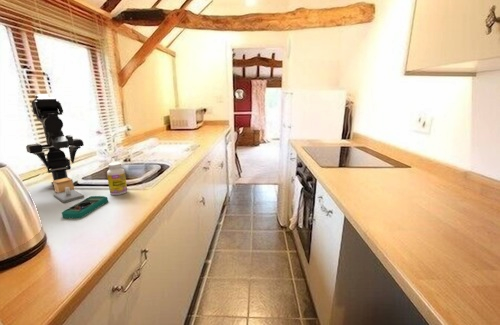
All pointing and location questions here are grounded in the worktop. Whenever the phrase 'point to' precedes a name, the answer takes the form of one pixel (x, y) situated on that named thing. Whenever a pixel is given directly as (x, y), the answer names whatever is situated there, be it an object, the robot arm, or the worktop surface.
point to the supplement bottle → (116, 179)
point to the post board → (68, 195)
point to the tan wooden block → (63, 184)
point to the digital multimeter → (84, 207)
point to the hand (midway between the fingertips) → (60, 165)
